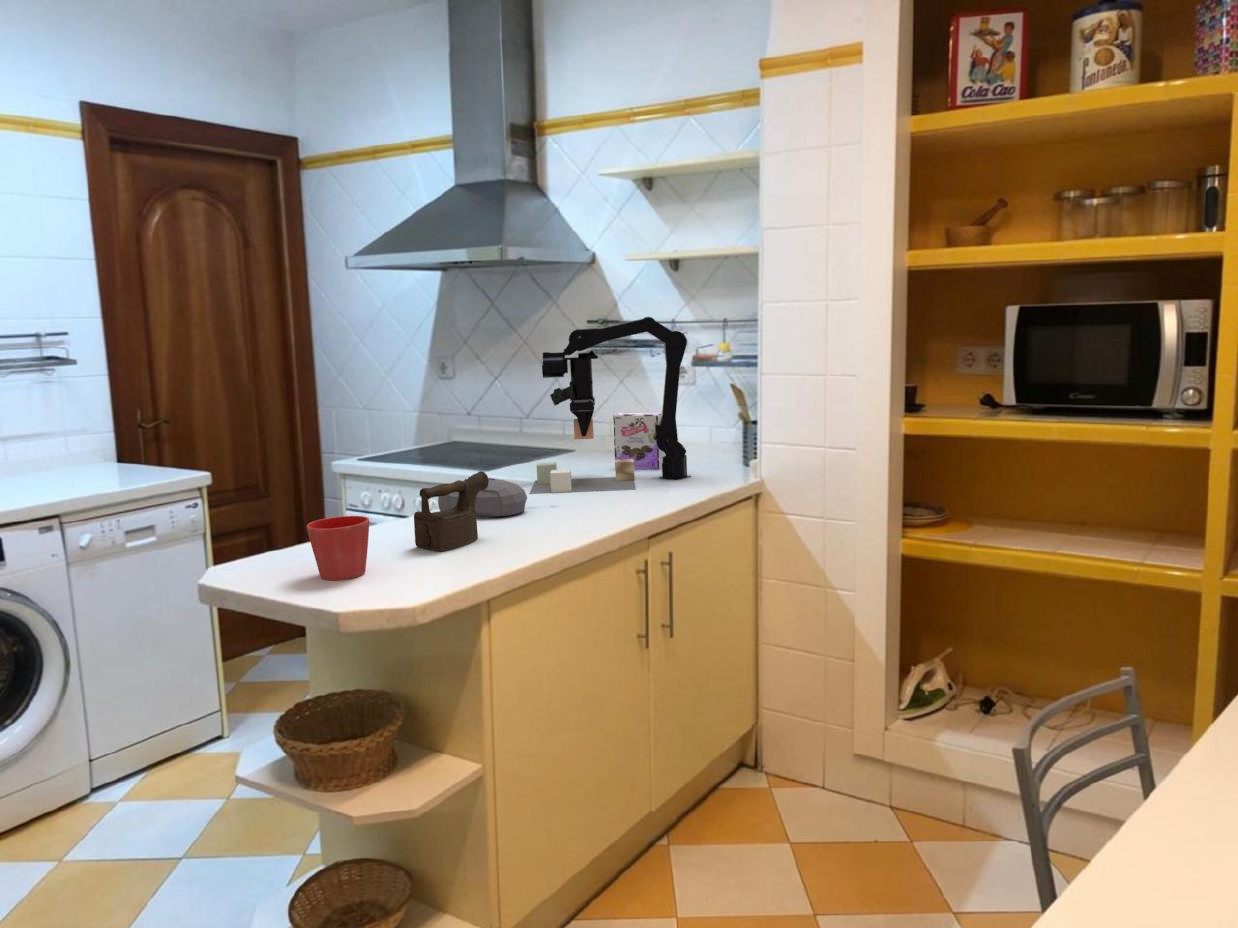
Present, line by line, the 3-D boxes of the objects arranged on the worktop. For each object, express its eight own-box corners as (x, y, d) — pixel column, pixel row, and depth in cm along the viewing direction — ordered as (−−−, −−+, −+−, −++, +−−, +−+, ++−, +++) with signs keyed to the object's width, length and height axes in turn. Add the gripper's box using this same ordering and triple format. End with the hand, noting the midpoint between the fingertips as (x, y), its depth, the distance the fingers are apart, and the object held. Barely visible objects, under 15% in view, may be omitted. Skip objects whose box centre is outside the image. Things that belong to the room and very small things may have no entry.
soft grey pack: (431, 518, 219) (510, 521, 212) (429, 482, 218) (508, 484, 211) (464, 506, 233) (539, 508, 226) (461, 472, 232) (537, 473, 225)
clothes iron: (500, 537, 196) (496, 472, 194) (437, 553, 184) (433, 484, 182) (475, 533, 201) (471, 469, 199) (412, 548, 189) (408, 481, 187)
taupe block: (571, 488, 247) (570, 469, 247) (570, 491, 243) (569, 472, 242) (552, 489, 247) (551, 470, 247) (551, 492, 242) (550, 473, 242)
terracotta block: (593, 436, 260) (592, 418, 259) (593, 438, 255) (592, 419, 254) (575, 437, 260) (574, 418, 259) (574, 439, 255) (573, 420, 254)
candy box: (614, 470, 278) (612, 414, 276) (621, 467, 283) (619, 412, 281) (659, 471, 273) (657, 414, 270) (666, 468, 278) (664, 412, 276)
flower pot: (297, 581, 167) (292, 526, 166) (337, 565, 177) (332, 514, 176) (348, 585, 163) (343, 529, 162) (385, 568, 173) (381, 516, 172)
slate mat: (633, 478, 263) (633, 476, 263) (635, 491, 242) (635, 489, 242) (535, 482, 263) (535, 480, 263) (529, 495, 242) (528, 493, 242)
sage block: (557, 480, 261) (556, 462, 261) (556, 483, 256) (555, 464, 256) (538, 481, 261) (537, 462, 261) (537, 484, 256) (536, 465, 256)
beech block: (634, 477, 261) (633, 459, 261) (634, 480, 256) (633, 461, 256) (615, 478, 261) (615, 459, 261) (615, 480, 256) (615, 462, 256)
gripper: (553, 375, 264) (556, 432, 266) (548, 379, 245) (552, 440, 248) (593, 374, 264) (596, 430, 266) (592, 378, 246) (595, 438, 248)
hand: (584, 434), depth 257 cm, fingers closed on terracotta block, 5 cm apart
